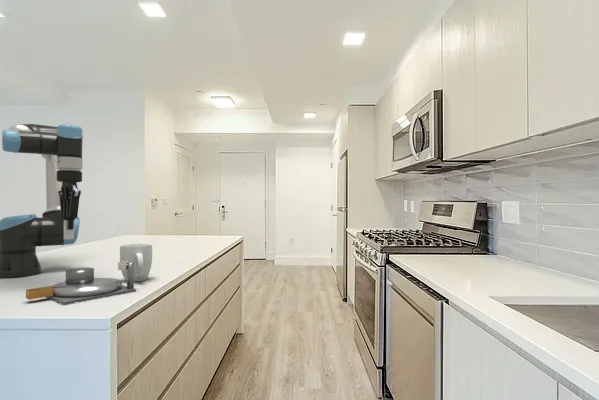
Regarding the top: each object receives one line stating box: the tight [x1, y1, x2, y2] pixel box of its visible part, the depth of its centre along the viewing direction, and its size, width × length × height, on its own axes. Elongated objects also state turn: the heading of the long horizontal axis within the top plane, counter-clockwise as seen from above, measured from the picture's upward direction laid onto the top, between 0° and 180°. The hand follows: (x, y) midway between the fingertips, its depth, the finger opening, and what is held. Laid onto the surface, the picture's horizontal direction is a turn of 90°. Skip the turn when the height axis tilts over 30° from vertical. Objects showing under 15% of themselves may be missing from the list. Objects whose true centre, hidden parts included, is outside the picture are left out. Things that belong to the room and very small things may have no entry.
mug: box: [119, 242, 153, 283], centre depth 136 cm, size 15×11×13 cm
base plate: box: [45, 284, 137, 306], centre depth 119 cm, size 21×21×1 cm
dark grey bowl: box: [65, 266, 95, 284], centre depth 123 cm, size 8×8×4 cm
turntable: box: [25, 277, 123, 300], centre depth 117 cm, size 20×26×2 cm
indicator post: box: [117, 261, 135, 289], centre depth 122 cm, size 5×5×9 cm
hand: (68, 238), depth 128 cm, fingers closed
